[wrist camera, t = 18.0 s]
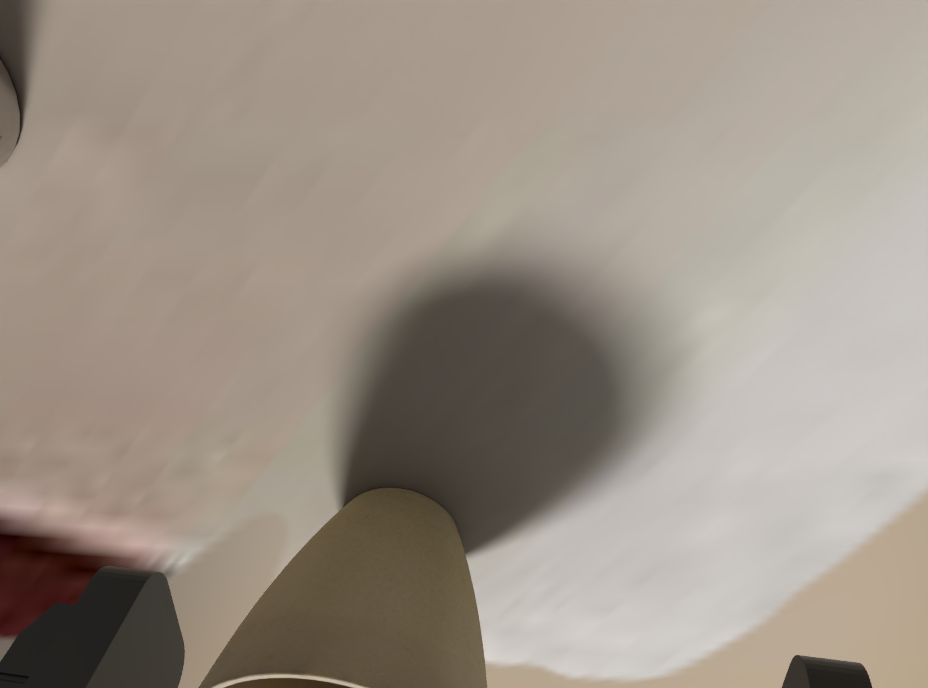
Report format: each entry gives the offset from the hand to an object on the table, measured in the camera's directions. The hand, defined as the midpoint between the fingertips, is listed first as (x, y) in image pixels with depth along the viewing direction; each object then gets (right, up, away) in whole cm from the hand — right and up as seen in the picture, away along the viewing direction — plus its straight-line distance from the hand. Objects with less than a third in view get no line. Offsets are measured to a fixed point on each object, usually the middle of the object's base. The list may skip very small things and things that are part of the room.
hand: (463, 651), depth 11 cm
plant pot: (-4, -7, +43) cm, 43 cm away
